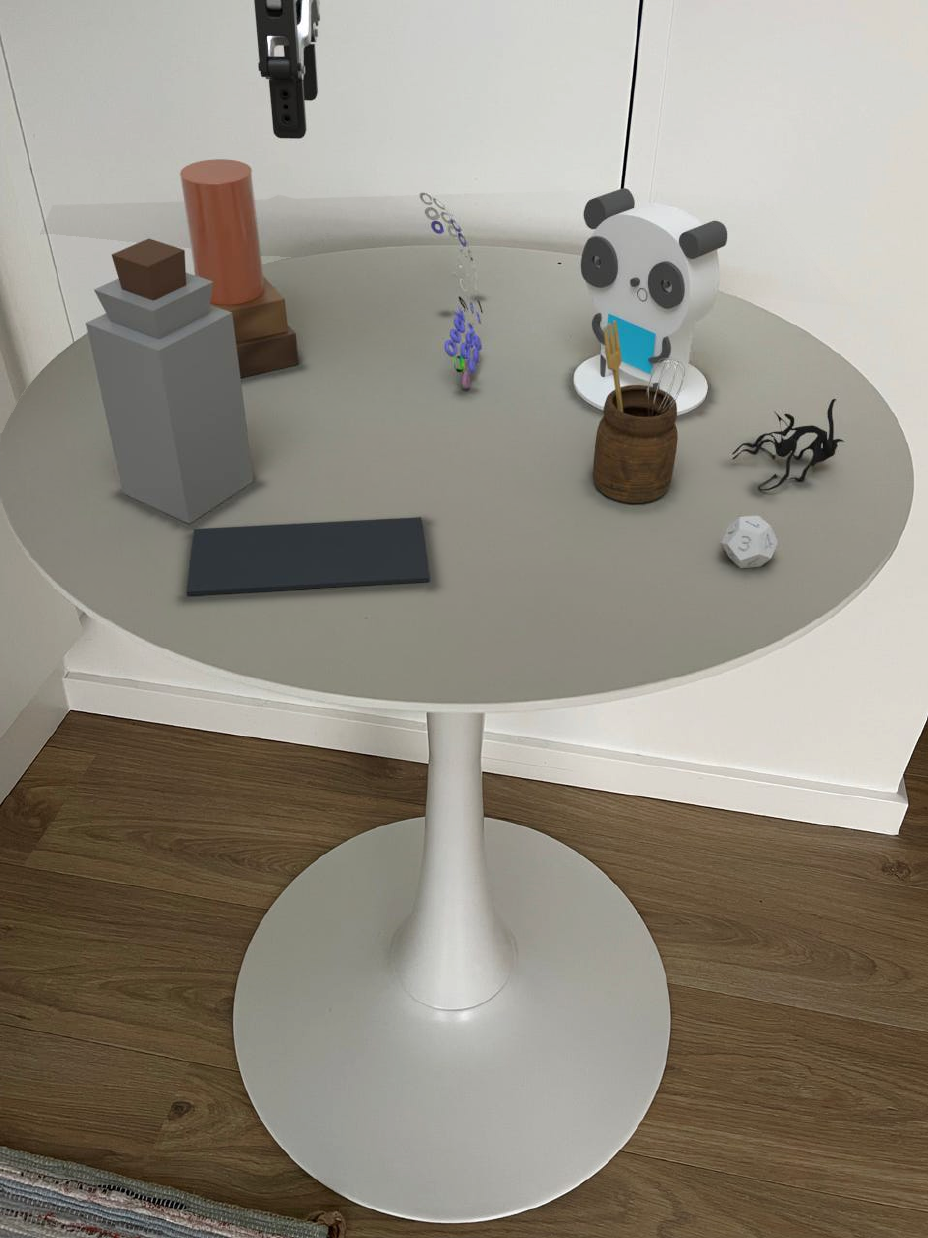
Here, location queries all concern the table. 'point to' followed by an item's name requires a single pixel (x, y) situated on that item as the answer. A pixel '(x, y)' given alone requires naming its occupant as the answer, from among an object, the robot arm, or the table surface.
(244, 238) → the canister
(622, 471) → the utensil holder
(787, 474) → the creature
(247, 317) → the block stack
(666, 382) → the panda figurine
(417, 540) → the mat
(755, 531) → the game die
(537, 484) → the table surface
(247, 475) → the perfume bottle
